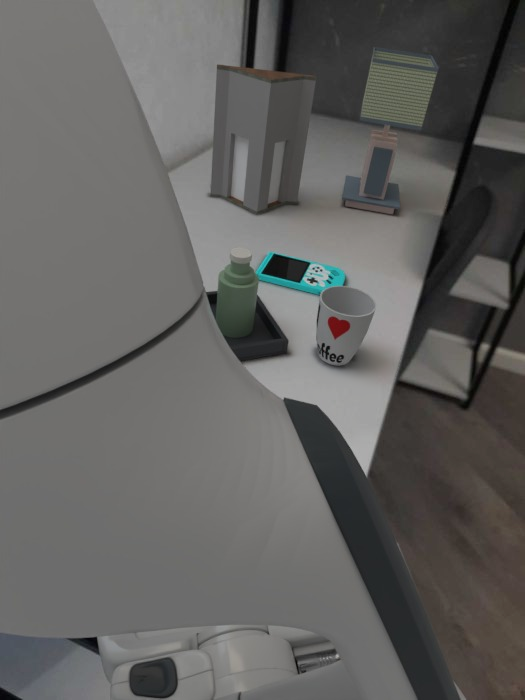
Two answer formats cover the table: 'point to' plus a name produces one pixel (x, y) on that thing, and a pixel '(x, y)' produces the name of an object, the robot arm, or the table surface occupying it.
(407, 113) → the desk lamp
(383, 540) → the robot arm
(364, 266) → the table surface
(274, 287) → the table surface
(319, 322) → the cup
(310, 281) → the handheld game console
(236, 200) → the grey toy building
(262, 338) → the tray
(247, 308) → the far bottle
